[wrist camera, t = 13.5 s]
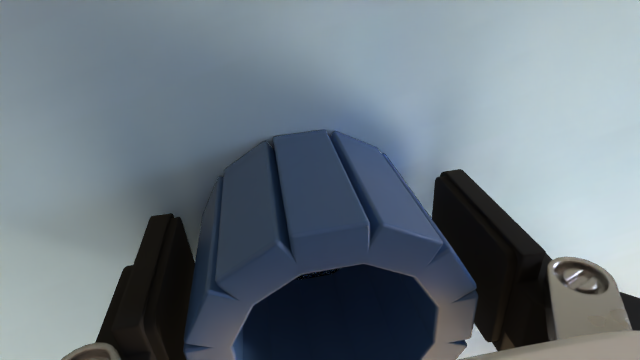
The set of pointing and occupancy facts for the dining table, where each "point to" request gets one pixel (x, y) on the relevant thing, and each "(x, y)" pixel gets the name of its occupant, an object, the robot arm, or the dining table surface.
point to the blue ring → (323, 261)
